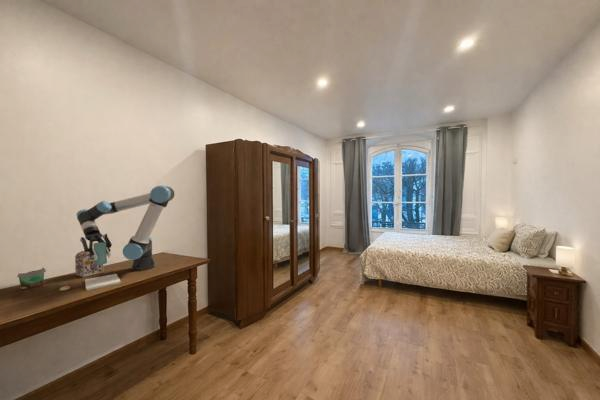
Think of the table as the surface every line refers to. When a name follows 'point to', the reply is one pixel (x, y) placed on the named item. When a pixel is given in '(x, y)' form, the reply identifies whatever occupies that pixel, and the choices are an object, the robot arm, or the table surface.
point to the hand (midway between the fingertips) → (103, 257)
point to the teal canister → (100, 253)
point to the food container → (31, 279)
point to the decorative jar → (86, 265)
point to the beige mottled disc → (64, 288)
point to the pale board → (102, 281)
